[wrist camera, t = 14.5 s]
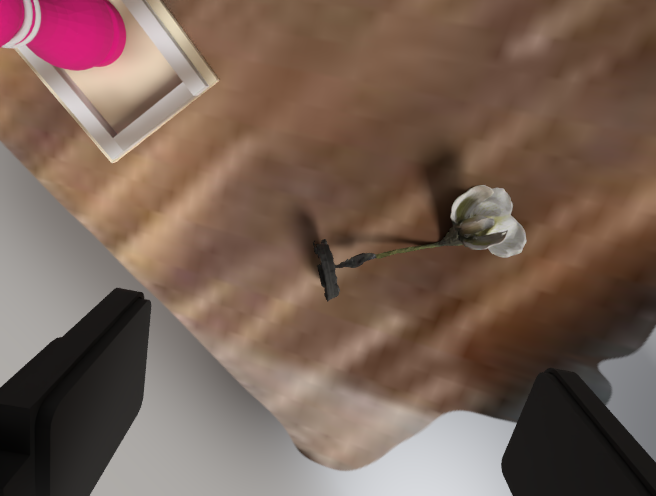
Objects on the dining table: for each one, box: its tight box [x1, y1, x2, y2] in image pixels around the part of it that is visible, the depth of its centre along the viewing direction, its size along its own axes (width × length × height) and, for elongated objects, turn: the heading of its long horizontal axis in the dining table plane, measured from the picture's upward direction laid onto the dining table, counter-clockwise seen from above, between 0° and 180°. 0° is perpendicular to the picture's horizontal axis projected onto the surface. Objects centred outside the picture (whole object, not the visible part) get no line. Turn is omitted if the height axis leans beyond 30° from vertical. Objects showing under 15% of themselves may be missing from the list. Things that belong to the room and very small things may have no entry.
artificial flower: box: [313, 185, 526, 301], centre depth 46 cm, size 9×22×10 cm, turn 102°
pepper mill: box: [0, 0, 126, 71], centre depth 32 cm, size 7×7×20 cm
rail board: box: [14, 0, 220, 163], centre depth 42 cm, size 20×14×2 cm
